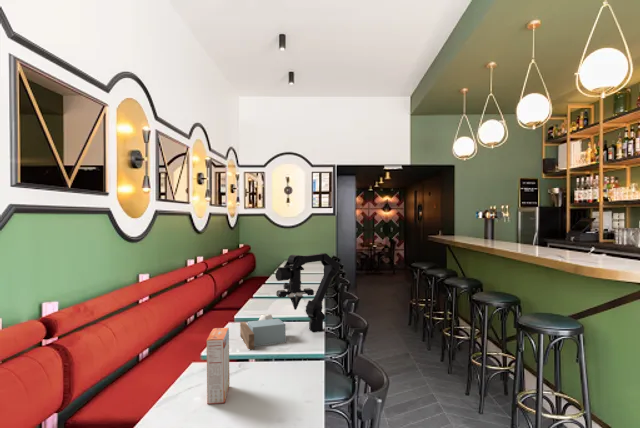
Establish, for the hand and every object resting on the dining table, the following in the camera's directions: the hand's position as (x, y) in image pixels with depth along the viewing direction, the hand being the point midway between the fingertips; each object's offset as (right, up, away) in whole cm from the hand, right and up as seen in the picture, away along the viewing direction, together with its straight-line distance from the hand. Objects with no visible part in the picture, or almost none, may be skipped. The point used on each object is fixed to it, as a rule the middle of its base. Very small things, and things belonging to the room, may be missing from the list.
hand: (295, 309), depth 207 cm
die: (-16, -14, +10) cm, 23 cm away
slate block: (-14, -13, -10) cm, 22 cm away
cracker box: (-22, -12, -72) cm, 76 cm away
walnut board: (-23, -13, -13) cm, 29 cm away
